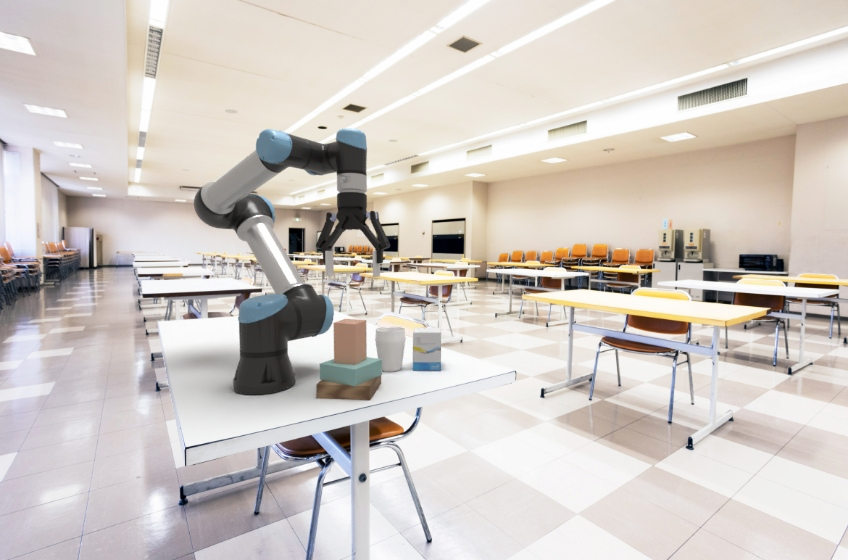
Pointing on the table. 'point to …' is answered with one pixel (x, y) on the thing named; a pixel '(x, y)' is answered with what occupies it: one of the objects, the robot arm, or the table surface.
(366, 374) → the block top
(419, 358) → the ink box
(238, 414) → the table surface
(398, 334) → the cup
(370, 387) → the block bottom
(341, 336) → the tall block
